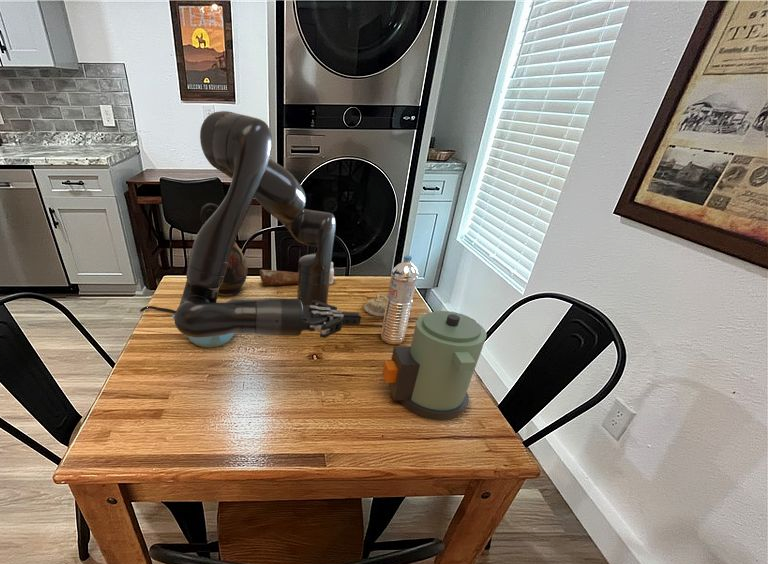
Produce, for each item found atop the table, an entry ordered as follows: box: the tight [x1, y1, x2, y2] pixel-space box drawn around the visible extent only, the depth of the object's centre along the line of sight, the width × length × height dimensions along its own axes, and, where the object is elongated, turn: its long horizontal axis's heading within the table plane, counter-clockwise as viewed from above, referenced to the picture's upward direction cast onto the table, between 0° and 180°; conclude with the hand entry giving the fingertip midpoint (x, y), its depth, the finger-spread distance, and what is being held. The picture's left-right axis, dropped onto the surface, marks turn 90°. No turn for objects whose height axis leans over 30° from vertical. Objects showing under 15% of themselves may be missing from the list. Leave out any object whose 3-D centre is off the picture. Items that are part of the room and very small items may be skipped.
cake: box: [363, 294, 388, 317], centre depth 127 cm, size 10×10×5 cm
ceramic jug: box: [199, 202, 248, 297], centre depth 130 cm, size 17×15×30 cm
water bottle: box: [380, 254, 419, 346], centre depth 106 cm, size 7×7×25 cm
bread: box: [259, 269, 298, 286], centre depth 143 cm, size 6×19×6 cm, turn 95°
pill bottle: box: [329, 261, 335, 285], centre depth 144 cm, size 4×4×8 cm
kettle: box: [387, 310, 488, 421], centre depth 86 cm, size 18×23×22 cm
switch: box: [381, 360, 398, 384], centre depth 87 cm, size 2×4×4 cm, turn 1°
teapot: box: [172, 314, 235, 348], centre depth 110 cm, size 15×15×11 cm
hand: (359, 318), depth 81 cm, fingers closed
